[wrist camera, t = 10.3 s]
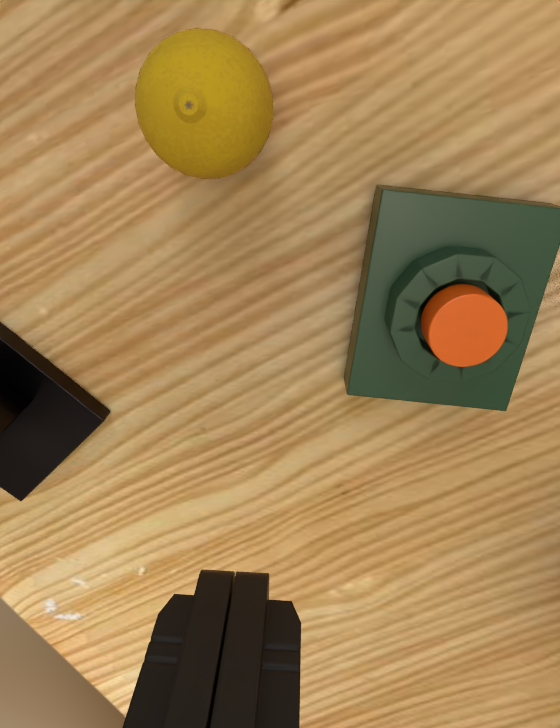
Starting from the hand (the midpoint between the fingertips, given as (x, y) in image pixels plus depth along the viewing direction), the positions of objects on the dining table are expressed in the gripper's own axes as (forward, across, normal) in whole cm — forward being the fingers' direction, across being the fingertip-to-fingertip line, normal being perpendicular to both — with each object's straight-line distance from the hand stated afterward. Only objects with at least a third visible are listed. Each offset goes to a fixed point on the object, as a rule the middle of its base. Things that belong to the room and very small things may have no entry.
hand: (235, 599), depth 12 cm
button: (+16, -9, -1) cm, 19 cm away
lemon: (+20, +3, -10) cm, 23 cm away
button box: (+20, -9, -2) cm, 22 cm away
